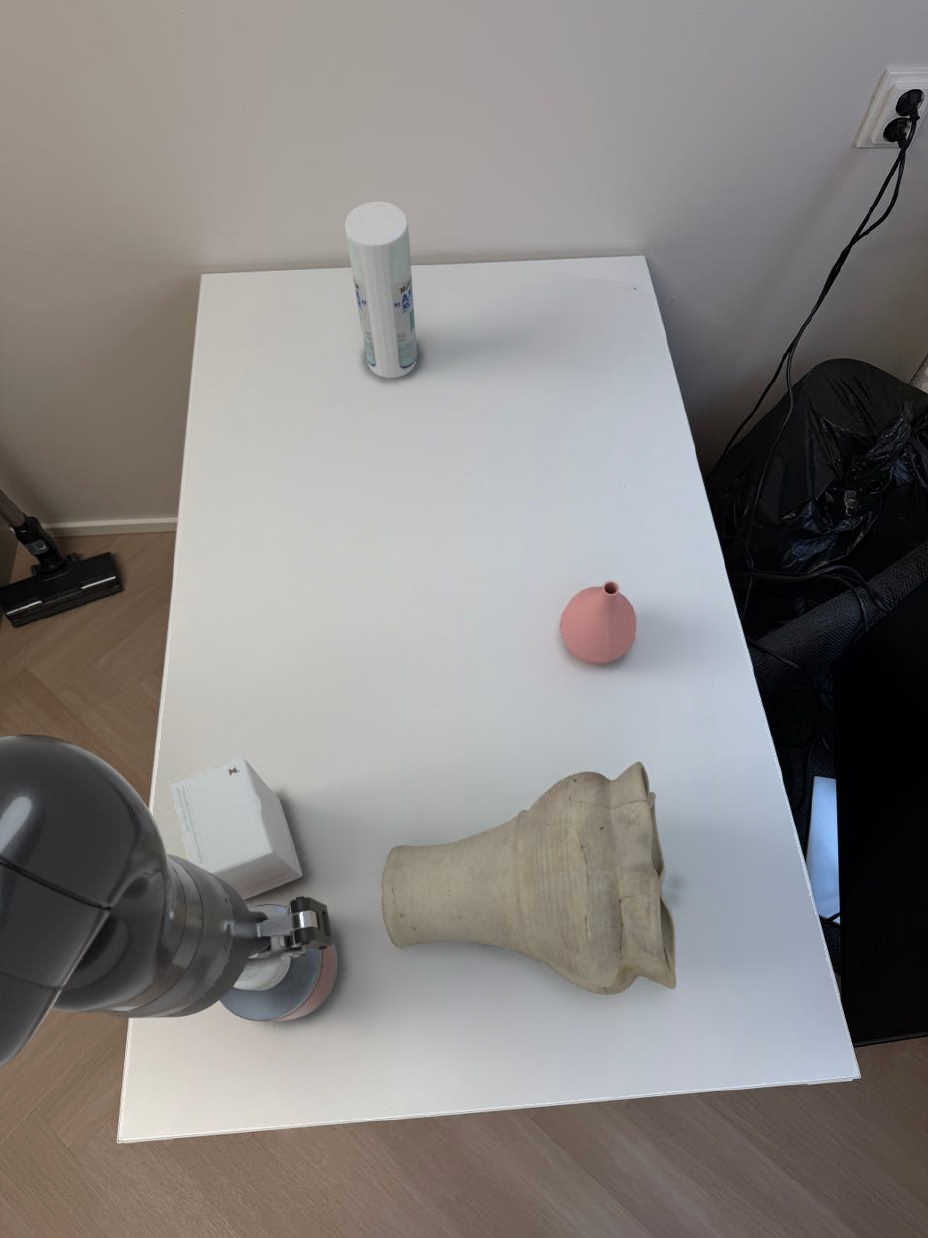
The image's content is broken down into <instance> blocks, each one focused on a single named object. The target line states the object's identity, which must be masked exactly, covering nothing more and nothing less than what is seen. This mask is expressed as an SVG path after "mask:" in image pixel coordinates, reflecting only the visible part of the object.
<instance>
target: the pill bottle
mask: <svg viewBox="0 0 928 1238" xmlns="http://www.w3.org/2000/svg"><path fill="white" fill-rule="evenodd" d="M279 942H280V944H281V946H285V945H284V937H283V936H279ZM257 956H258V953H257V954H255V955H252V956H250V957H249V958H255V957H257ZM290 962H291V957H288V956H286V957H282V958H281V961H280V962H279V963H278V964H274V965H271V966H268V967H265V968H259V969H251V970H245V971H244V972H242V973H241V975H240V977H239V979H238V980H237V982H236V983H235V984H234V986H233V987H235V988H239V989H245V990H266V989H269V988H272V987H274V986H275V985H277V984H278V983H279V982H280V981H281V980H282V979H283V978H284V977H285V975H286V973H287V972H288V969H289V967H290Z"/></svg>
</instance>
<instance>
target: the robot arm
mask: <svg viewBox="0 0 928 1238" xmlns="http://www.w3.org/2000/svg"><path fill="white" fill-rule="evenodd" d="M286 907H287V913H285V914H279V913H277V911H276V909H275V908H274V907H272V906H263V907H254V906H247V904H246V903H245V900H243V899H242V898H241V897H240V895H239V894H238V893H237V892H236V890H235V889H234V888H233V887H232V886H230V885H229V884H228V883H227V882H225V881H224V880H222V879H220V878H219V877H217V876H215V875H213V874H211V873H209V872H208V871H206V870H204V869H202V868H200V867H198V866H197V865H195V864H193V863H191V862H189V860H188V859H185V858H183V857H180V856H178V855H174V854H170V853H167V851H166V847H165V843H164V840H163V837H162V835H161V832H160V829H159V827H158V824H157V823H156V820H155V818H154V816H153V814H152V812H151V811H150V809H149V807H148V806H147V804H146V803H145V801H144V800H143V799H142V798H141V796H140V794H139V793H138V792H137V791H136V789H135V788H134V787H133V786H132V785H131V784H130V783H129V781H127V780H126V779H125V777H124V776H123V775H122V774H121V773H120V772H118V771H117V770H116V769H115V768H114V767H113V766H112V765H110V764H109V763H108V762H107V761H105V760H104V759H103V758H101V757H100V756H98V755H96V754H95V753H93V752H91V751H90V750H89V749H86V748H84V747H82V746H81V745H78V744H76V743H74V742H71V741H68V740H66V739H62V738H59V737H55V736H51V735H46V734H33V733H29V734H27V733H24V734H23V733H22V734H21V733H20V734H13V735H8V736H1V737H0V1068H1V1067H3V1066H5V1065H6V1064H8V1063H9V1062H10V1061H12V1060H13V1059H15V1058H16V1057H17V1056H18V1055H19V1054H20V1053H21V1052H22V1051H23V1050H24V1049H25V1047H26V1046H27V1045H28V1044H29V1042H30V1041H31V1040H32V1038H33V1037H35V1035H36V1034H37V1031H38V1030H39V1029H40V1028H41V1025H42V1024H43V1023H44V1021H45V1020H46V1018H47V1016H48V1015H49V1013H50V1012H51V1010H53V1011H57V1012H62V1013H63V1012H64V1013H75V1014H76V1013H87V1014H88V1013H89V1014H92V1013H93V1014H96V1013H101V1014H106V1015H109V1016H112V1017H116V1018H124V1019H156V1018H157V1019H159V1018H160V1019H161V1018H162V1019H163V1018H182V1017H188V1016H192V1015H195V1014H198V1013H200V1012H203V1011H205V1010H206V1009H208V1008H210V1007H212V1006H213V1005H215V1004H217V1003H218V1002H220V999H221V998H222V997H223V996H225V995H226V994H227V993H228V991H229V990H230V989H231V988H232V987H233V986H234V984H235V983H236V982H237V980H238V979H239V977H240V975H241V973H242V972H244V971H245V970H251V969H259V968H265V967H268V966H271V965H274V964H278V963H279V962H280V961H281V958H282V957H286V956H288V957H291V958H294V959H295V958H300V957H304V956H305V952H306V951H305V950H306V949H319V950H325V949H327V947H329V946H332V941H333V939H332V933H331V926H330V919H329V912H328V904H327V905H326V904H325V903H322V902H321V901H318V900H316V899H314V898H312V897H309V896H307V897H305V895H300V896H296V897H295V898H294V899H291V900H290V901H289V904H287V905H286ZM279 936H283V937H284V945H285V946H281V944H280V942H279ZM257 953H258V956H257V957H255V958H249V957H250V956H252V955H255V954H257Z"/></svg>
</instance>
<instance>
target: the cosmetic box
mask: <svg viewBox="0 0 928 1238" xmlns="http://www.w3.org/2000/svg"><path fill="white" fill-rule="evenodd" d="M169 787H170V791H171V792H170V793H171V796H172V799H173V804H174V808H175V812H176V815H177V820H178V824H179V828H180V832H181V837H182V840H183V845H184V849H185V852H186V856H187V861H189V862H191V863H193V864H195V865H197V866H198V867H200V868H202V869H204V870H206V871H208V872H209V873H211V874H213V875H215V876H217V877H219V878H220V879H222V880H224V881H225V882H227V883H228V884H229V885H230V886H232V887H233V888H234V889H235V890H236V892H237V893H238V894H239V895H240V897H241V898H242V899H243V901H245V900H247V899H251V898H252V897H256V896H257V895H260V894H263V893H265V892H268V891H270V890H273V889H275V888H279V887H280V886H283V885H285V884H287V883H290V882H292V881H296V880H297V879H300V878H302V877H303V872H302V868H301V863H300V860H299V857H298V854H297V850H296V847H295V844H294V841H293V838H292V834H291V831H290V827H289V825H288V821H287V818H286V815H285V812H284V808H283V805H282V803H281V799H279V797H278V796H277V795H276V794H275V793H274V792H273V791H272V789H271V788H270V787H269V786H268V785H267V784H266V782H264V780H263V779H262V777H261V776H260V775H259V774H258V773H257V772H256V770H255V769H254V768H253V767H252V765H250V763H249V762H248V761H247V759H246V758H245V757H244V756H242V757H240V758H237V759H233V760H232V761H229V762H227V763H224V764H221V765H219V766H216V767H214V768H211V769H209V770H206V771H203V772H200V773H198V774H195V775H193V776H190V777H188V778H185V779H183V780H180V781H177V782H174V783H171V784H170V785H169Z"/></svg>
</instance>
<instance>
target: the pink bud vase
mask: <svg viewBox="0 0 928 1238" xmlns="http://www.w3.org/2000/svg"><path fill="white" fill-rule="evenodd" d="M559 631H560V634H561V638H562V641H563V643H564V644H565V646H566V648H567V649H568V651H569V652H570V653H571V655H572V656H574V657H575V658H576V659H578V660H579V661H580V662H584V663H586V664H590V665H604V664H606V663H609V662H613V661H615V660H617V659H619V658H621V657H622V656H623V655H625V654H626V653H627V652H628V651H629V650H630V649H631V646H632V645H633V643H634V641H635V639H636V631H637V615H636V613H635V609H634V606H633V604H632V603H631V601H629V599H628V598H627V596H625V595H624V594H622V593H621V592H620V586H619V584H618V583H617V582H616V581H614V580H608V581H605V582H604V583H603V585H602V586H590V587H588V588H584V589H582V590H580V591H579V592H577V593H576V594H575V595H574V596H573V597H572V598H571V599H570V600H569V601H568V602H567V604H566V606H565V608H564V609H563V611H562V613H561V615H560V619H559Z"/></svg>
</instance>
